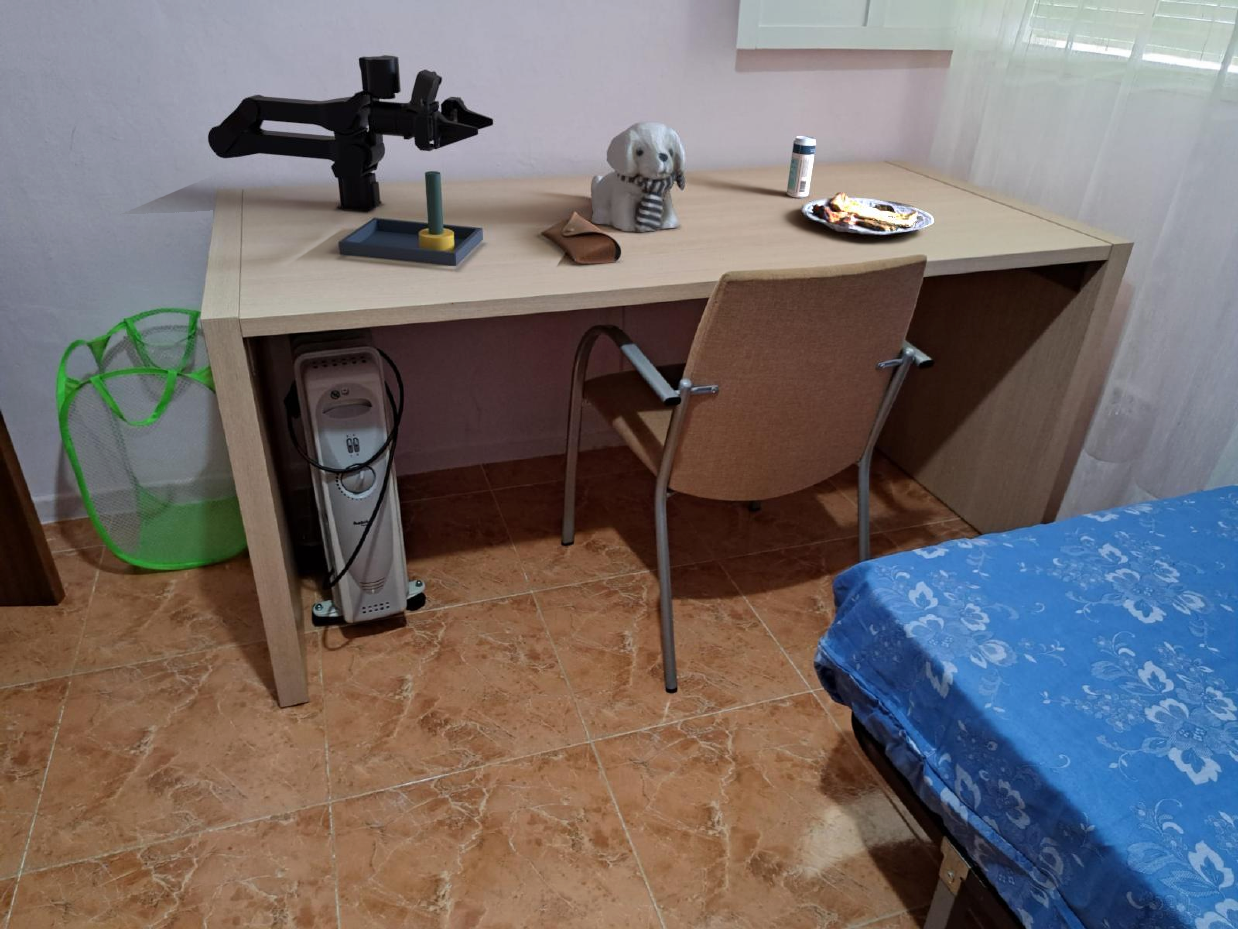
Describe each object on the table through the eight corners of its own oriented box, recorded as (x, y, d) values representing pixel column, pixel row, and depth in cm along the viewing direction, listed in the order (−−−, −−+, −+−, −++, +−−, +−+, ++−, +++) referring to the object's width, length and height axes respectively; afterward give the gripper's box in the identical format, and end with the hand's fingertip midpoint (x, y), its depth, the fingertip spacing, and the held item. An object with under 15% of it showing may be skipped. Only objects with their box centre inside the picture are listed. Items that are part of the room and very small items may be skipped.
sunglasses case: (534, 232, 162) (552, 198, 160) (565, 248, 166) (583, 215, 164) (576, 263, 148) (596, 227, 146) (608, 280, 152) (628, 245, 151)
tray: (340, 258, 146) (338, 241, 145) (375, 233, 159) (374, 217, 157) (456, 270, 144) (455, 253, 143) (483, 243, 157) (482, 227, 155)
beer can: (811, 195, 196) (820, 137, 189) (803, 199, 192) (812, 141, 186) (791, 191, 198) (799, 134, 192) (782, 195, 194) (790, 137, 188)
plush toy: (653, 239, 163) (660, 133, 154) (543, 213, 174) (543, 113, 165) (700, 218, 176) (709, 119, 167) (594, 195, 187) (597, 101, 178)
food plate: (777, 220, 178) (780, 202, 176) (839, 201, 193) (842, 184, 191) (892, 251, 164) (896, 232, 162) (949, 227, 179) (953, 210, 177)
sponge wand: (415, 257, 146) (409, 175, 140) (426, 247, 151) (421, 167, 144) (448, 260, 146) (443, 178, 139) (459, 250, 150) (455, 170, 144)
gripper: (377, 78, 151) (467, 85, 149) (417, 64, 167) (499, 70, 165) (383, 147, 156) (470, 155, 155) (421, 127, 172) (500, 134, 170)
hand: (485, 126), depth 161 cm, fingers open, 9 cm apart
